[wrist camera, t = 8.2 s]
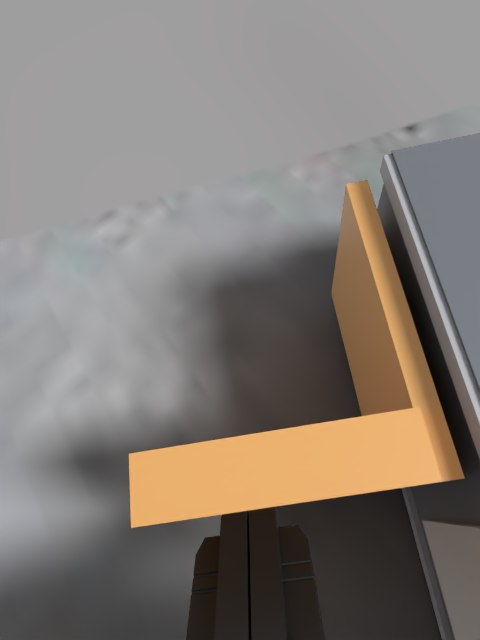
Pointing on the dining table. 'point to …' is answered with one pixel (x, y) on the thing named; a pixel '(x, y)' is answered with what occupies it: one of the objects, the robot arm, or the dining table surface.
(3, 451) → the dining table surface
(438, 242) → the block
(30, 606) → the dining table surface
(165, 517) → the orange l-shaped bracket
